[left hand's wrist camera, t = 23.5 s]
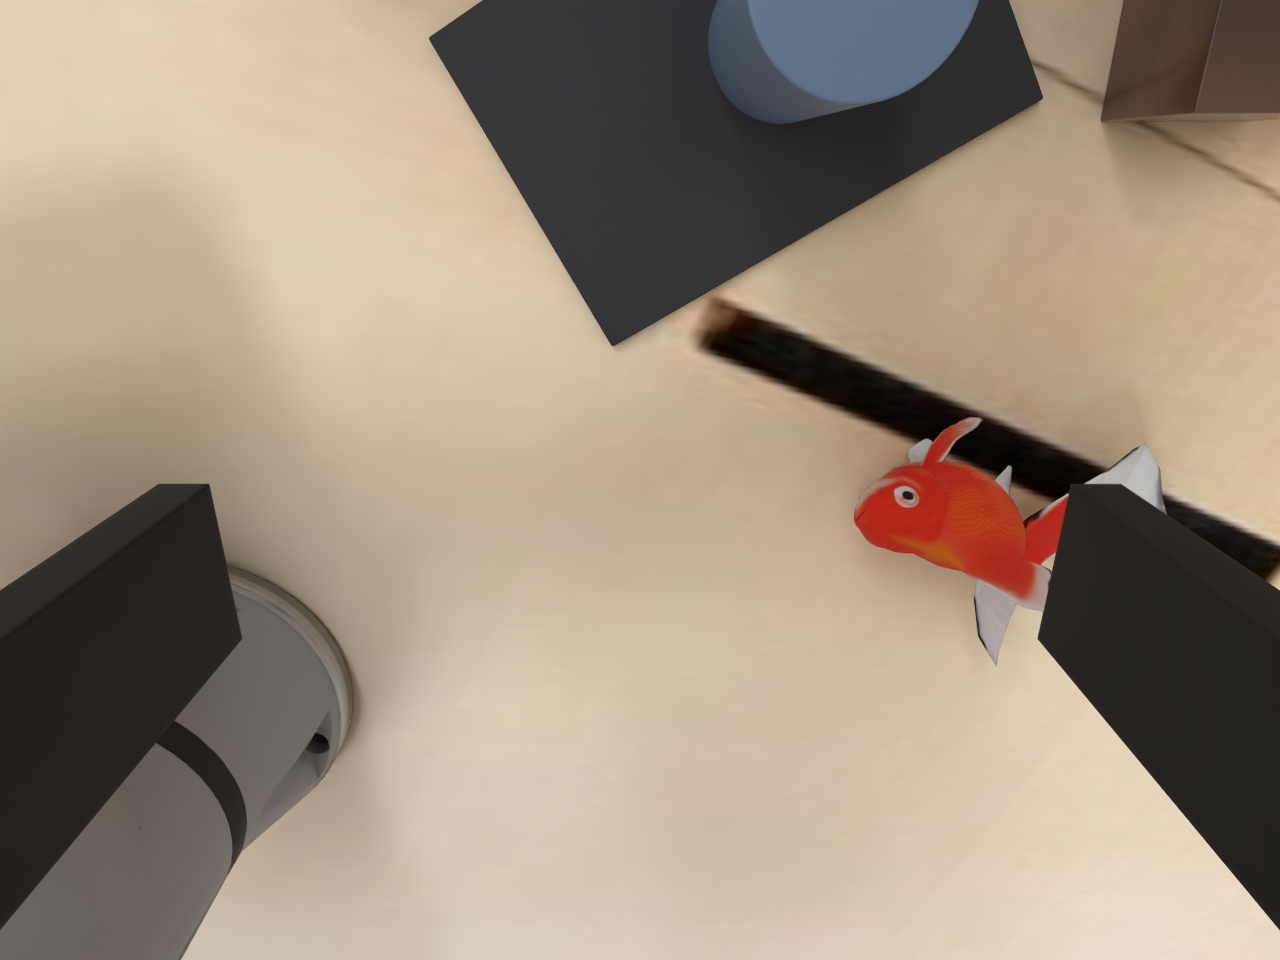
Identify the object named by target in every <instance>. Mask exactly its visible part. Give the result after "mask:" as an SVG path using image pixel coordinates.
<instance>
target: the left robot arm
mask: <svg viewBox="0 0 1280 960" xmlns="http://www.w3.org/2000/svg"><path fill="white" fill-rule="evenodd" d="M1038 640H1039V641H1040V642H1041V643H1042V645H1043V646H1044V647H1045V648H1046V650H1047V651H1048V652H1049V653H1050V654H1051V656H1052V657H1053V658H1054V659H1055V660H1056V662H1057V663H1058V664H1059V665H1060V666H1061V668H1062V669H1063V670H1064V671H1065V672H1066V674H1067V675H1068V676H1069V677H1070V678H1071V680H1072V681H1073V682H1074V683H1075V684H1076V686H1077V687H1078V688H1079V689H1080V690H1081V692H1082V693H1083V694H1084V695H1085V696H1086V698H1087V699H1088V700H1089V701H1090V702H1091V704H1092V705H1093V706H1094V707H1095V708H1096V710H1097V711H1098V712H1099V713H1100V714H1101V716H1102V717H1103V718H1104V719H1105V720H1106V722H1107V723H1108V724H1109V725H1110V726H1111V728H1112V729H1113V730H1114V731H1115V733H1116V734H1117V735H1118V736H1119V737H1120V739H1121V740H1122V741H1123V742H1124V743H1125V745H1126V746H1127V747H1128V748H1129V749H1130V751H1131V752H1132V753H1133V754H1134V755H1135V757H1136V758H1137V759H1138V760H1139V761H1140V763H1141V764H1142V765H1143V766H1144V767H1145V769H1146V770H1147V771H1148V772H1149V773H1150V775H1151V776H1152V777H1153V778H1154V779H1155V781H1156V782H1157V783H1158V784H1159V785H1160V787H1161V788H1162V789H1163V790H1164V791H1165V793H1166V794H1167V795H1168V796H1169V797H1170V799H1171V800H1172V801H1173V802H1174V803H1175V805H1176V806H1177V807H1178V808H1179V809H1180V811H1181V812H1182V813H1183V814H1184V815H1185V817H1186V818H1187V819H1188V820H1189V822H1190V823H1191V824H1192V825H1193V826H1194V828H1195V829H1196V830H1197V831H1198V832H1199V834H1200V835H1201V836H1202V837H1203V838H1204V840H1205V841H1206V842H1207V843H1208V844H1209V846H1210V847H1211V848H1212V849H1213V850H1214V852H1215V853H1216V854H1217V855H1218V856H1219V858H1220V859H1221V860H1222V861H1223V862H1224V864H1225V865H1226V866H1227V867H1228V868H1229V870H1230V871H1231V872H1232V873H1233V874H1234V876H1235V877H1236V878H1237V879H1238V880H1239V882H1240V883H1241V884H1242V885H1243V886H1244V888H1245V889H1246V890H1247V891H1248V892H1249V894H1250V895H1251V896H1252V897H1253V898H1254V900H1255V901H1256V902H1257V903H1258V904H1259V906H1260V907H1261V908H1262V909H1263V911H1264V912H1265V913H1266V914H1267V915H1268V917H1269V918H1270V919H1271V920H1272V921H1273V923H1274V924H1275V925H1276V926H1277V927H1278V929H1279V930H1280V590H1278V589H1277V588H1275V587H1274V586H1272V585H1271V584H1269V583H1268V582H1266V581H1265V580H1263V579H1262V578H1260V577H1259V576H1257V575H1256V574H1254V573H1253V572H1251V571H1250V570H1248V569H1247V568H1245V567H1244V566H1243V565H1241V564H1240V563H1238V562H1237V561H1235V560H1234V559H1232V558H1231V557H1229V556H1228V555H1226V554H1225V553H1223V552H1222V551H1220V550H1219V549H1217V548H1216V547H1214V546H1213V545H1211V544H1210V543H1208V542H1207V541H1205V540H1204V539H1202V538H1201V537H1199V536H1198V535H1196V534H1195V533H1193V532H1192V531H1190V530H1189V529H1187V528H1186V527H1184V526H1183V525H1182V524H1180V523H1179V522H1177V521H1176V520H1174V519H1173V518H1171V517H1170V516H1168V515H1167V514H1165V513H1164V512H1162V511H1161V510H1159V509H1158V508H1156V507H1155V506H1153V505H1152V504H1150V503H1149V502H1147V501H1146V500H1144V499H1143V498H1141V497H1140V496H1138V495H1137V494H1135V493H1134V492H1132V491H1131V490H1129V489H1128V488H1126V487H1125V486H1123V485H1122V484H1071V486H1070V490H1069V495H1068V500H1067V504H1066V509H1065V513H1064V518H1063V523H1062V527H1061V532H1060V537H1059V541H1058V546H1057V551H1056V555H1055V560H1054V565H1053V569H1052V574H1051V579H1050V583H1049V588H1048V593H1047V597H1046V602H1045V607H1044V611H1043V616H1042V621H1041V625H1040V630H1039V634H1038ZM352 710H353V692H352V685H351V680H350V676H349V672H348V669H347V667H346V664H345V661H344V659H343V657H342V655H341V653H340V651H339V649H338V647H337V645H336V644H335V642H334V640H333V639H332V637H331V636H330V634H329V633H328V632H327V630H326V629H325V628H324V627H323V625H322V624H321V623H320V622H319V621H318V620H317V619H316V618H315V616H314V615H313V614H312V613H311V612H310V611H308V610H307V609H306V608H305V607H304V606H303V605H302V604H301V603H299V602H298V601H297V600H296V599H294V598H293V597H292V596H290V595H289V594H287V593H286V592H284V591H283V590H281V589H280V588H278V587H277V586H275V585H273V584H271V583H269V582H268V581H266V580H264V579H262V578H260V577H257V576H255V575H253V574H251V573H248V572H245V571H243V570H240V569H237V568H234V567H230V566H227V565H226V560H225V555H224V551H223V546H222V541H221V537H220V532H219V527H218V523H217V518H216V514H215V509H214V504H213V500H212V495H211V490H210V486H209V484H158V485H157V486H155V487H154V488H152V489H151V490H149V491H148V492H146V493H145V494H143V495H142V496H140V497H139V498H137V499H136V500H134V501H133V502H131V503H130V504H128V505H127V506H125V507H124V508H122V509H121V510H119V511H118V512H116V513H115V514H113V515H112V516H110V517H109V518H107V519H106V520H104V521H103V522H101V523H100V524H98V525H97V526H96V527H94V528H93V529H91V530H90V531H88V532H87V533H85V534H84V535H82V536H81V537H79V538H78V539H76V540H75V541H73V542H72V543H70V544H69V545H67V546H66V547H64V548H63V549H61V550H60V551H58V552H57V553H55V554H54V555H52V556H51V557H49V558H48V559H46V560H45V561H43V562H42V563H40V564H39V565H37V566H36V567H35V568H33V569H32V570H30V571H29V572H27V573H26V574H24V575H23V576H21V577H20V578H18V579H17V580H15V581H14V582H12V583H11V584H9V585H8V586H6V587H5V588H3V589H2V590H0V960H181V959H182V957H183V955H184V953H185V952H186V950H187V948H188V946H189V944H190V943H191V941H192V939H193V937H194V935H195V934H196V932H197V930H198V928H199V926H200V924H201V923H202V921H203V919H204V917H205V915H206V914H207V912H208V910H209V908H210V906H211V905H212V903H213V901H214V899H215V897H216V896H217V894H218V892H219V890H220V888H221V887H222V885H223V883H224V881H225V879H226V877H227V875H228V874H229V872H230V870H231V869H232V867H233V865H234V863H235V862H236V860H237V858H238V857H239V855H240V853H241V852H242V851H243V850H244V849H245V848H246V847H247V846H248V845H249V844H251V843H252V842H253V841H254V840H255V839H256V838H257V837H259V836H260V835H261V834H262V833H263V832H264V831H266V830H267V829H268V828H269V827H270V826H271V825H272V824H274V823H275V822H276V821H277V820H278V819H279V818H281V817H282V816H283V815H284V814H285V813H286V812H287V811H289V810H290V809H291V808H292V807H293V806H294V805H295V804H297V803H298V802H299V801H300V800H301V799H302V798H304V797H305V796H306V795H307V794H308V793H309V792H310V791H311V790H312V789H313V788H314V787H316V786H317V784H318V783H319V782H320V781H321V780H322V779H323V778H324V776H325V775H326V773H327V772H328V770H329V769H330V767H331V765H332V763H333V761H334V759H335V758H336V756H337V754H338V752H339V750H340V748H341V746H342V744H343V742H344V740H345V738H346V735H347V733H348V730H349V727H350V723H351V718H352Z"/></svg>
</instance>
